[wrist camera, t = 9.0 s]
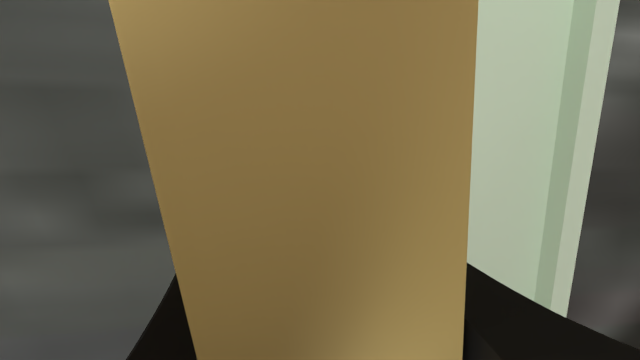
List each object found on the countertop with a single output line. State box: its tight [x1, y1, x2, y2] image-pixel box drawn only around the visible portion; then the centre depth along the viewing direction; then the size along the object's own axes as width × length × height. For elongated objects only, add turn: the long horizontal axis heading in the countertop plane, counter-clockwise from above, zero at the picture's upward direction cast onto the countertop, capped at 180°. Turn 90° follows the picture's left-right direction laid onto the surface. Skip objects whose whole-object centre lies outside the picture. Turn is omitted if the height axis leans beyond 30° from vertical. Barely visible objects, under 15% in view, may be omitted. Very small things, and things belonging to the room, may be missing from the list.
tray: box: [467, 0, 620, 318], centre depth 20 cm, size 20×10×2 cm, turn 4°
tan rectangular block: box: [109, 0, 479, 360], centre depth 9 cm, size 12×3×6 cm, turn 5°
